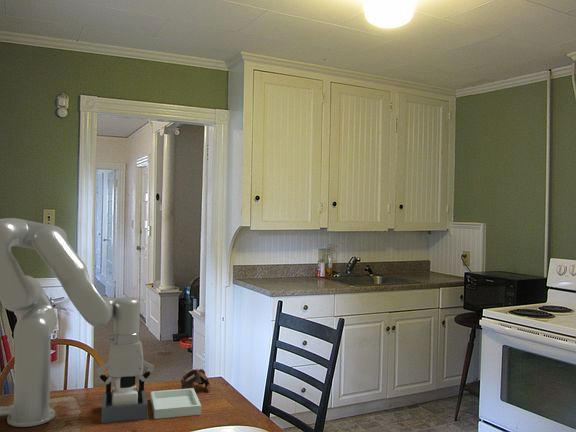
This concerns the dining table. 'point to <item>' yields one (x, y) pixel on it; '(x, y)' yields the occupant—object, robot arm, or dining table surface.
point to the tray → (175, 403)
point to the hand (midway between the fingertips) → (125, 394)
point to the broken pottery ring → (195, 379)
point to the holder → (124, 409)
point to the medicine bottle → (124, 391)
